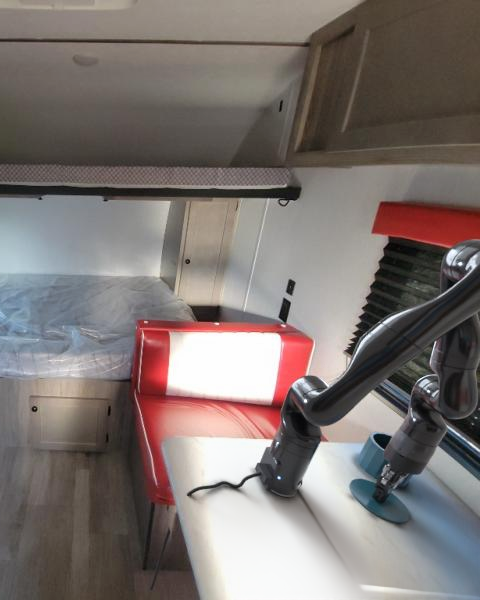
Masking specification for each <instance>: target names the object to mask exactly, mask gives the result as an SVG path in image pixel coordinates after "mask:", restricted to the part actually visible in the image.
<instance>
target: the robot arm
mask: <svg viewBox="0 0 480 600" xmlns="http://www.w3.org/2000/svg"><path fill="white" fill-rule="evenodd" d="M440 265H441V267H440V286H439V287H440V292H439V294H438V295H437V296H434V297H433V298H431V299H429V300H426V301H423V302H420V303H418V304H414V305H411V306H408V307H405V308H402V309H400V310H397V311H395V312H392V313H390V314H388V315H386V316H385V317H384V318H382V319H381V320H379V321H378V322H377V323H376V324H374V325H373V326H372V327H371V328H369V329H368V330H367V331H366V332H365V333H364V334H362V336H361V337H360V338H359V339H358V342H356V345H355V347H354V349H353V351H352V352H353V353H352V355H351V358H350V360H349V363H348V365H347V367H346V369H345V370H344V371H343V373H342V374H341V375H340V376H339V377H338V378H337V379H336V380H334V382H333V383H331V384H328V382H326V381H325V380H324V379H322V378H321V377H319V376H317V375H311V374H310V375H309V374H307V375H303V376H300V377H298V378H297V379H295V380H294V381H293V382H292V383H291V385H290V386H289V388H288V389H287V393H286V395H285V398H284V400H283V404H282V407H281V409H280V413H279V414H280V415H279V417H280V422H279V424H278V427H277V428H276V432H275V434H274V436H273V439H272V441H271V444H270V446H266V447H265V449H264V452H263V453H262V455H261V459H260V461H259V462H256V465H255V467H254V471H255V472H254V473H252V474H249V475H247V476H245V477H243V478H242V480H241V481H240V482H239V483H238V484H234V483H231V482H229V481H227V480H223V481H219V482H216V483H214V484H211V485H210V484H208V485H201V486H197V487H194V488H192V489H191V490H189V491H188V492H187V493H186V496H187V497H190V496H191V495H193V494H195V493H196V492H200V491H203V490H204V491H205V490H211V489H212V490H213V489H215V488H218V487H220V486H224V485H225V486H229V487H231V488H233V489H240V488H241V487H243V486H244V484H245V483H246V482H247V481H248V480H250V479H253V478H256V477H258V478H259V480H260V482H261V483H262V485H263V487H264V488H265V489H264V490H266V491H268V492H271V493H273V494H275V495H277V496H280V497H283V498H293V497H295V495H296V494H297V493H298V489H299V487H300V488H302V485H303V480H304V477H305V474H306V473H307V471H308V468H309V467H310V465H311V462H312V461H313V459H314V456H315V454H316V452H317V450H318V448H319V446H320V445H321V442H322V440H323V431H322V429H321V428H324V427H329V426H333V425H335V424H336V423H338V422H339V421H340V420H342V419H343V418H345V417H346V416H347V415H348V414H349V413H351V411H352V410H354V408H355V407H356V406H357V405H359V403H361V401H362V400H364V399H365V398H366V397H367V396H368V395H369V394H371V392H372V391H373V390H375V389H376V388H377V387H379V385H381V384H382V383H383V382H384V381H386V380H387V379H388V378H389V377H391V376H392V375H394V374H395V373H396V372H397V371H399V370H400V369H402V368H403V367H404V366H406V365H408V364H409V363H410V362H411V361H413V360H414V359H415V358H416V357H418V356H419V355H421V354H422V353H423V352H425V351H426V350H427V349H428V348H430V347H431V346H432V345H433V344H434V345H433V349H432V352H431V356H430V360H429V366H430V368H431V370H432V371H433V372H434V374H429V375H425V376H423V377H421V378H419V379H418V380H417V381H416V382H415V384H414V385H413V387H412V389H411V393H410V396H409V397H410V398H409V403H408V411H407V415H406V416H405V418H404V419H403V421H402V423H401V425H400V426H399V427H398V428H397V430H395V432H394V433H393V437H392V438H391V440H390V442H389V443H388V445H387V447H386V448H385V450H384V452H383V455H384V458H385V459H386V460H387V461H388V462H389V464H388V465H387V464H386V465H385V467H384V468H383V472H382V474H381V475H380V476H378V480H377V479H376V482H375V483H376V485H375V487H374V488H376V490H375V492H374V493H373V495H372V497H373V498H374V499H375V500H376V501H378V502H379V503H382V502H383V501H384V499H385V498H386V496H387V495H388V494H389V493H390V491H391V489H392V491H391V493H393V491H394V490H395V489H397V488H398V487H397V486H398V485H400V484H401V483H402V482H403V480H404V478H406V477H407V476H408V475H409V474H412V475H413V476H419V475H421V474H422V473H423V472H424V470H425V469H426V467H427V465H429V462H430V461H431V459H432V458H433V456H434V455H435V453H436V450H437V448H438V446H439V445H440V443H441V441H442V440H443V438H444V437H445V435H446V434H447V432H448V425H447V423H446V421H445V420H444V419H443V418H446V419H451V420H461V419H465V418H466V417H469V416H470V415H471V414H473V412H474V411H475V410H476V408H477V406H478V402H479V401H478V400H479V393H478V392H479V391H478V379H477V375H476V374H477V370H478V367H479V364H480V319H479V314H478V313H480V239H475V238H473V239H472V238H471V239H465V240H462V241H459V242H457V243H456V244H454V245H453V246H451V247H450V248H449V249H448V250H447V251H446V252H445V254H444V256H443V258H442V262H441V264H440ZM391 493H390V494H391ZM390 494H389V495H390ZM388 497H389V496H388ZM388 497H387V498H388ZM170 535H171V529H170V527H168V528H167V531H166V534H165V537H164V539H163V544H162V547H161V550H160V554H159V557H158V560H157V563H156V568H155V570H154V571H155V572H154V575H153V578H152V580H151V581H152V582H151V584H150V586H149V589H150V591H153V590H154V588H155V584H156V581H157V577H158V575H159V571H160V567H161V565H162V561H163V557H164V553H165V550H166V547H167V544H168V541H169V537H170Z"/></svg>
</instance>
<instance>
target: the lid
mask: <svg viewBox="0 0 480 600" xmlns="http://www.w3.org/2000/svg"><path fill="white" fill-rule="evenodd" d="M375 485H376V482H374V481H371V480H369V479H365V478H355V479H352V480H351V481H350V482H349V490H350V492H351V494H352V495H353V497H354V499H356V500H357V502H358V503H359V504H361V506H363V508H365V509H367V510H368V511H369V512H370V513H372V514H374V515H375V516H377V517H379V518H381V519H383V520H385V521H388V522H392V523H396V524H404V523H407V522H408V521H409V519H410V512H409V510H408V507H406V505H405V504H404V502H403V501H401V499H400V498H399V497H397V495H395V494H394V493H393V490H392V489H391V491H392V492H391V491H390V493H391V494H390V493H389V494H390V495H389V494H388V495H387V496H386V498H385V499H384V501H383V502H382V503H379V502H378V501H376V500H375V499H374V498H373V497H372V495H373V493H374V492H375V490H376V488H374V487H375ZM388 496H389V497H388ZM387 497H388V498H387Z"/></svg>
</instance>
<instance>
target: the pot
mask: <svg viewBox="0 0 480 600" xmlns="http://www.w3.org/2000/svg"><path fill="white" fill-rule="evenodd" d="M393 435H394V434H393ZM393 435H392V434H389V433H386V432H383V431H373V432H370V434H369V435H368V437H367V439H366V441H365V443H364V444H363V446H362V448H361V450H360V451H359V453H358V455H357V457H356V461H357V463H358V466H359V467H360V468H361V469H362V470H363V471H364V472H365V473H366V474H368V475H369V476H370V477H372V478H373V479H374V480H376V481H377V480H378V476H380V475H381V474H382V472H383V468H384V467H385V465H386V464H387V465H388V464H389V462H388V461H387V460H386V459H385V458H384V455H383V452H384V450H385V448H386V447H387V445H388V443H389V442H390V440H391V438H392V437H393ZM413 476H414V475H412V474H409V475H408V476H407V477H406V478H404V480H403V482H402V483H401V484H400V485H398V486H397V487H396V488H404V487H406V486H407V485H408V483H409V482H410V480H411V479H412V477H413Z"/></svg>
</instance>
